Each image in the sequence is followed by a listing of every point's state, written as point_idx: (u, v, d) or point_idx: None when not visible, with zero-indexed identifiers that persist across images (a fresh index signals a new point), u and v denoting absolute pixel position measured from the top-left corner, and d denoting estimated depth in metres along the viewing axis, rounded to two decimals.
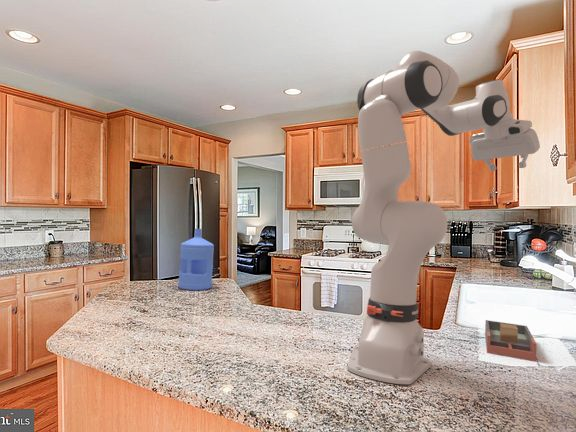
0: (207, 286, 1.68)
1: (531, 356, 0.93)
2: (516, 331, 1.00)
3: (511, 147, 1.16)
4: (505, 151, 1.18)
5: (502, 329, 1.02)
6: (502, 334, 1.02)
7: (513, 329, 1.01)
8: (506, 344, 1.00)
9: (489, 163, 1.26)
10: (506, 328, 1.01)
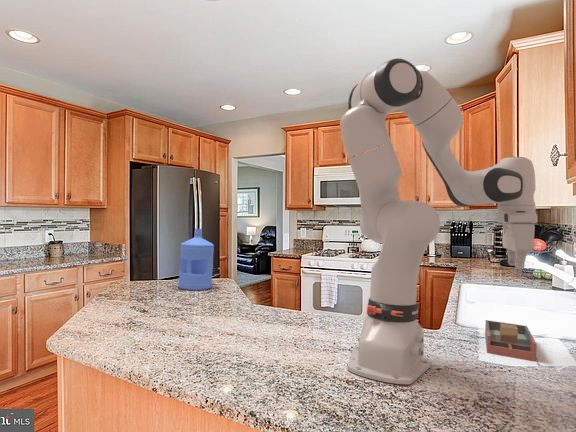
0: (207, 286, 1.68)
1: (531, 356, 0.93)
2: (516, 331, 1.00)
3: (511, 239, 0.97)
4: (509, 242, 0.99)
5: (502, 329, 1.02)
6: (502, 334, 1.02)
7: (513, 329, 1.01)
8: (506, 344, 1.00)
9: (510, 255, 1.04)
10: (506, 328, 1.01)
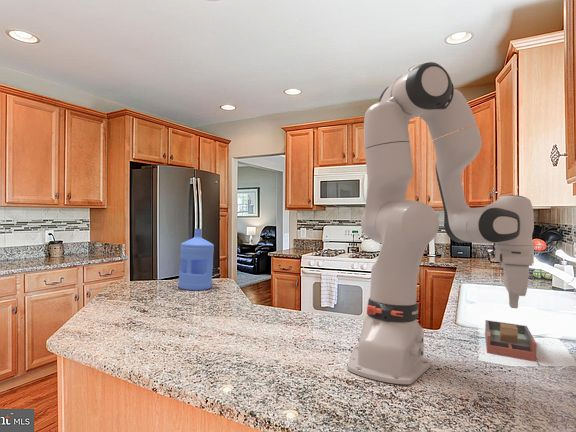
0: (207, 286, 1.68)
1: (531, 356, 0.93)
2: (516, 331, 1.00)
3: None
4: (506, 282, 0.97)
5: (502, 329, 1.02)
6: (502, 334, 1.02)
7: (513, 329, 1.01)
8: (506, 344, 1.00)
9: None
10: (506, 328, 1.01)
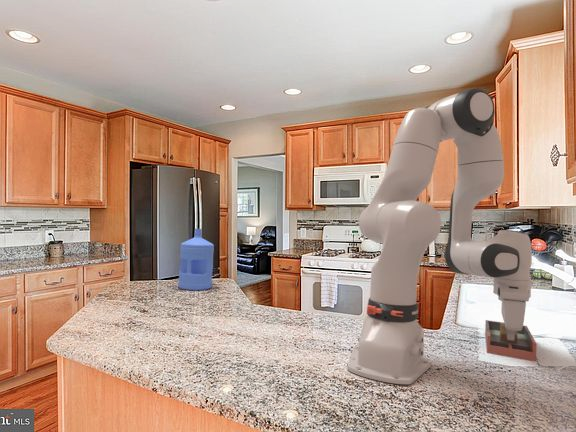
0: (207, 286, 1.68)
1: (531, 356, 0.93)
2: (516, 330, 1.01)
3: None
4: (503, 314, 1.00)
5: (502, 328, 1.02)
6: (502, 333, 1.02)
7: None
8: (506, 344, 1.00)
9: None
10: None
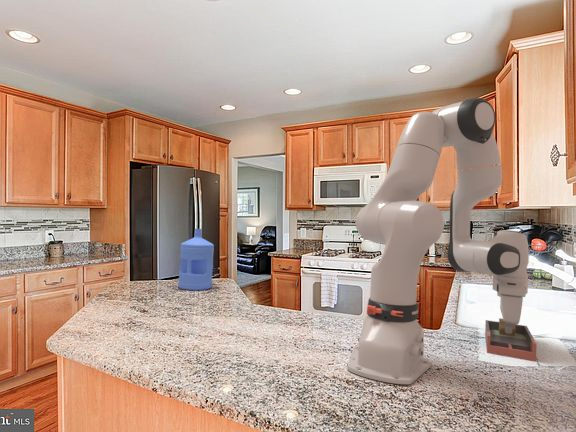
0: (207, 286, 1.68)
1: (531, 356, 0.93)
2: (514, 325, 1.07)
3: None
4: None
5: (501, 323, 1.08)
6: (501, 328, 1.08)
7: None
8: (506, 344, 1.00)
9: None
10: None
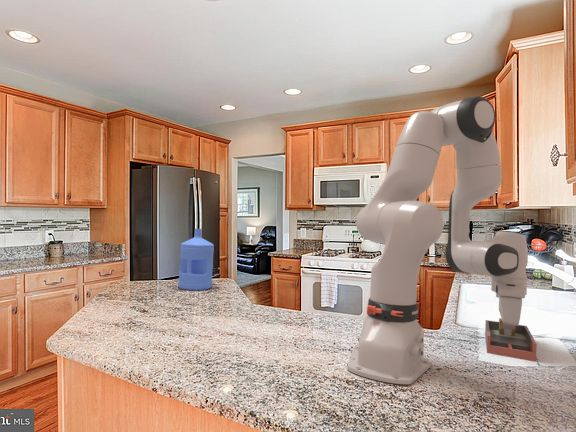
0: (207, 286, 1.68)
1: (531, 356, 0.93)
2: None
3: None
4: None
5: (501, 323, 1.08)
6: (501, 328, 1.08)
7: None
8: (506, 344, 1.00)
9: None
10: None
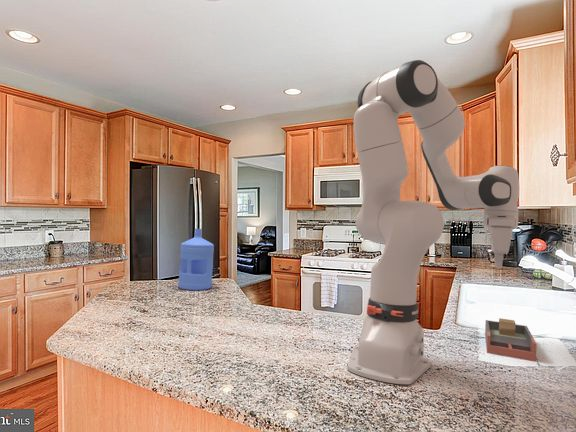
0: (207, 286, 1.68)
1: (531, 356, 0.93)
2: (514, 325, 1.07)
3: None
4: None
5: (501, 323, 1.08)
6: (501, 328, 1.08)
7: (511, 323, 1.07)
8: (506, 344, 1.00)
9: None
10: (504, 322, 1.08)
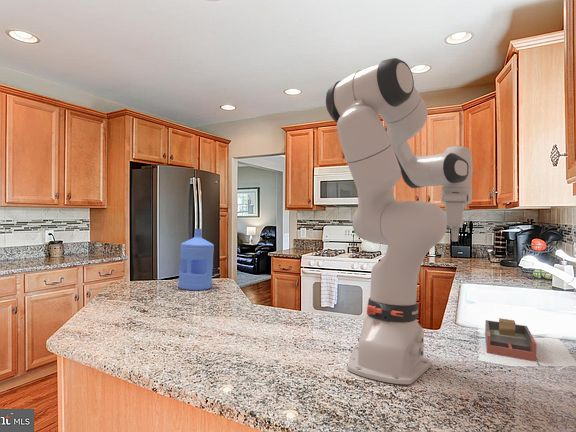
0: (207, 286, 1.68)
1: (531, 356, 0.93)
2: (514, 325, 1.07)
3: None
4: None
5: (501, 323, 1.08)
6: (501, 328, 1.08)
7: (511, 323, 1.07)
8: (506, 344, 1.00)
9: None
10: (504, 322, 1.08)
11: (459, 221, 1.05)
